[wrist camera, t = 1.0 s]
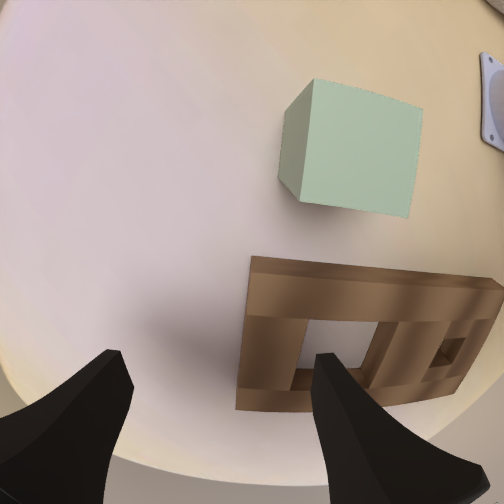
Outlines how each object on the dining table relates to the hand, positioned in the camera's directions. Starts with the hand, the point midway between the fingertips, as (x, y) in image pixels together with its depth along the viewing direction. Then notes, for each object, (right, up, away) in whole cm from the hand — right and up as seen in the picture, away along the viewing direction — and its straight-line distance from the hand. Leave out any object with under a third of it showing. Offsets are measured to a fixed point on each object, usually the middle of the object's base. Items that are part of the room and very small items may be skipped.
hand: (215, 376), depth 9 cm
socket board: (+12, -2, +11) cm, 16 cm away
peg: (+5, +10, +6) cm, 13 cm away
